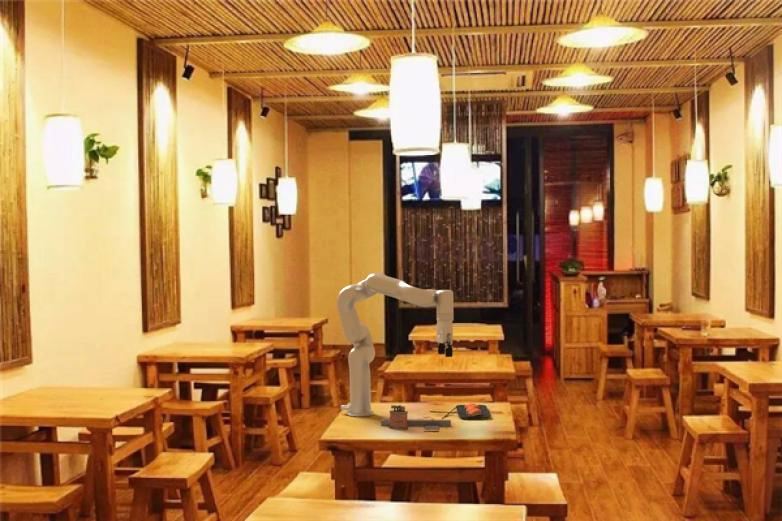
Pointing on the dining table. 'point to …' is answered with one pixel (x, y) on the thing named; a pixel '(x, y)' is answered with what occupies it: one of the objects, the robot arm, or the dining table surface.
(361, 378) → the robot arm
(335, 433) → the dining table surface
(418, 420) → the rail
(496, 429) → the dining table surface
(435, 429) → the marked pad
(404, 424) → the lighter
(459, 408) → the sushi plate
